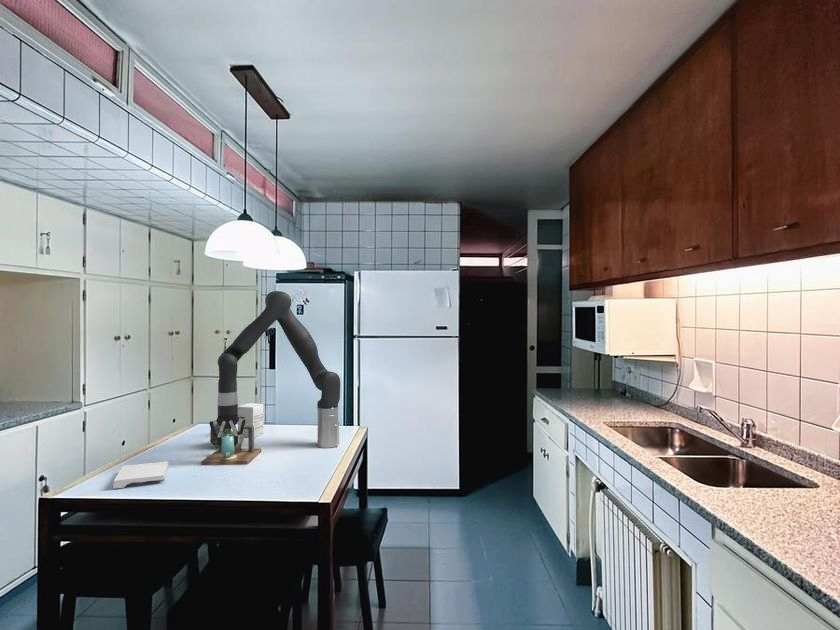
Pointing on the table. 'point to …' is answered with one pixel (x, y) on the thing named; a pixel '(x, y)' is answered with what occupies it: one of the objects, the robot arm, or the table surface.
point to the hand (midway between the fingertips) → (228, 445)
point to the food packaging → (141, 474)
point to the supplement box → (252, 418)
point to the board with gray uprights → (241, 454)
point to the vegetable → (226, 431)
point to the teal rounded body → (227, 444)
